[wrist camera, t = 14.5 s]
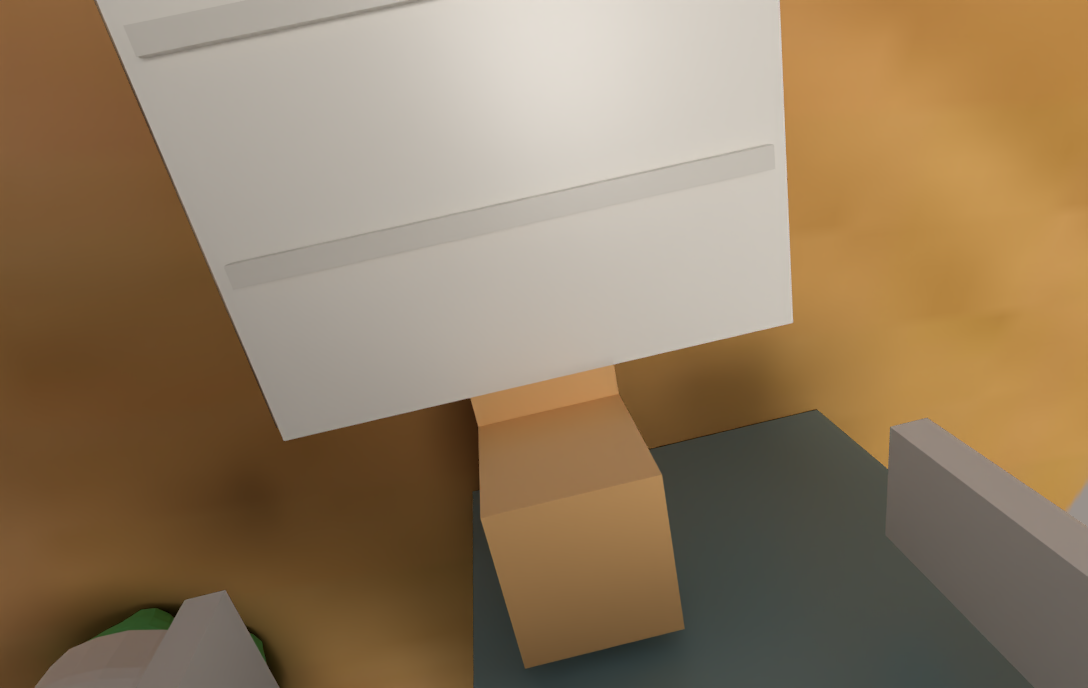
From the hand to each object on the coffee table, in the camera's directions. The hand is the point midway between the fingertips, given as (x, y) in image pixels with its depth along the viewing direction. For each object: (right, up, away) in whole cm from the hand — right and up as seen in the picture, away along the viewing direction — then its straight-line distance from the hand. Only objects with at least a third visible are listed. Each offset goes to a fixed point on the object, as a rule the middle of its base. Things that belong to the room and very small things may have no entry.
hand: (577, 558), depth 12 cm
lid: (-2, +8, +3) cm, 8 cm away
